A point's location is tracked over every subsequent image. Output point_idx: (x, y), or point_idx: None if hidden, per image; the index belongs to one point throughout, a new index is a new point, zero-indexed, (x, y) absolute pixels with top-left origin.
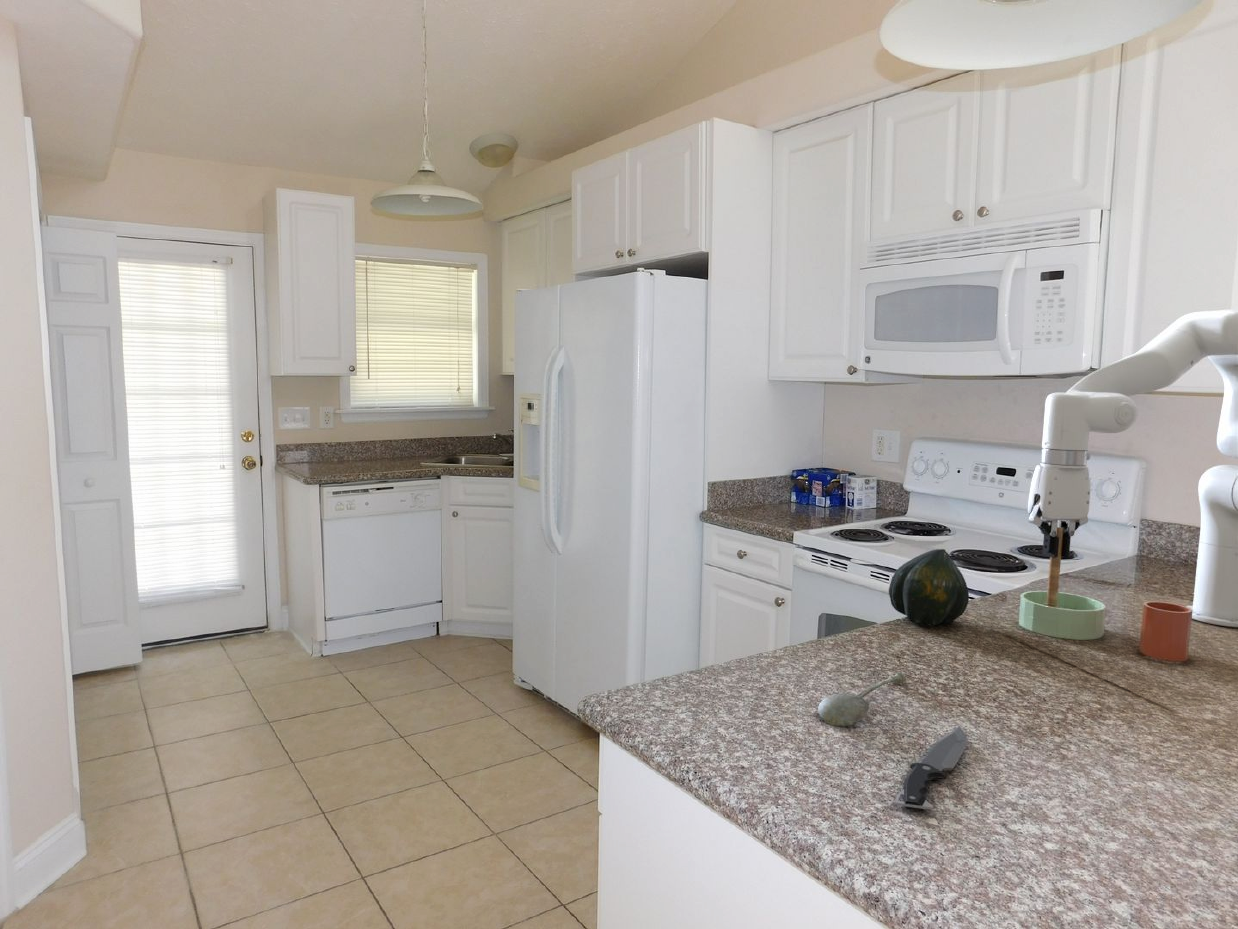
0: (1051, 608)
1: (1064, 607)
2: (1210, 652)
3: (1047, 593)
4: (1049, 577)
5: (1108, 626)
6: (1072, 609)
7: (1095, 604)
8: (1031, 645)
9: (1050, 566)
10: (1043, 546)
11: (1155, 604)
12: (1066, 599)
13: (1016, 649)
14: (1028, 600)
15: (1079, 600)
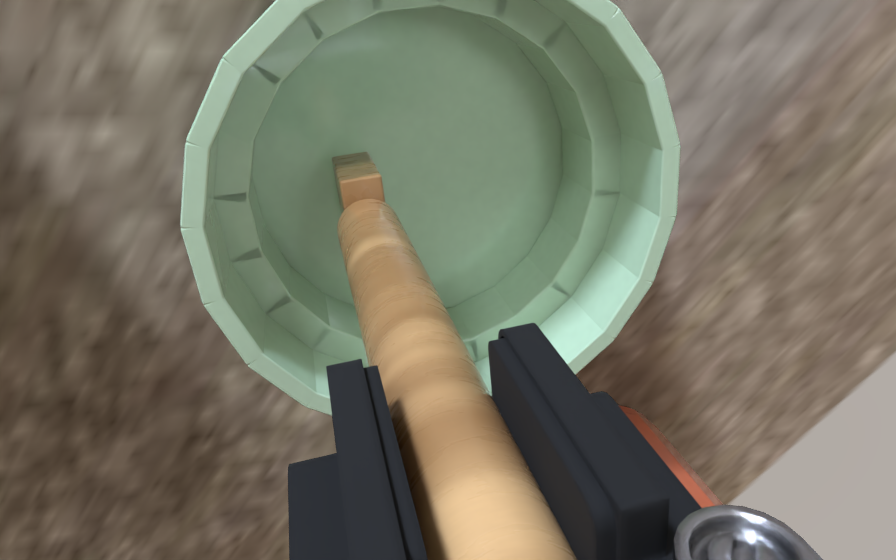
0: (273, 381)
1: (556, 42)
2: (799, 395)
3: (345, 247)
4: (356, 312)
5: (720, 83)
6: (574, 88)
7: (647, 215)
8: (134, 386)
9: (370, 363)
10: (291, 501)
11: None
12: (594, 34)
13: (26, 444)
14: (199, 233)
15: (636, 101)
